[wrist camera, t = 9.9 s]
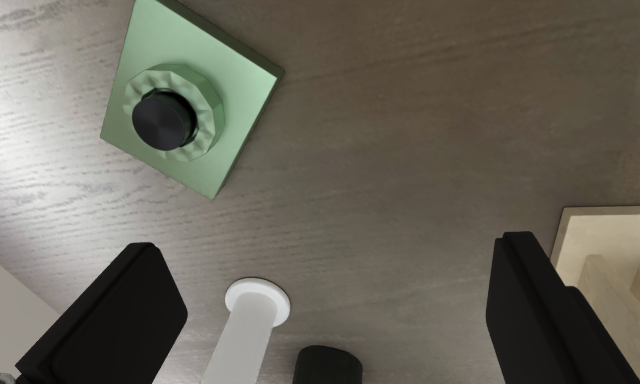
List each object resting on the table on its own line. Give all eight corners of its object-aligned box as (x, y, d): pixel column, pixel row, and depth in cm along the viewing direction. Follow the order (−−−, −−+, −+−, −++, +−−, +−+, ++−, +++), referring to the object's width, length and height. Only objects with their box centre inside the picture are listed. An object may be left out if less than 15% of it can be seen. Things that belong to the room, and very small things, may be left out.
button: (154, 80, 24) (139, 87, 22) (203, 110, 24) (192, 118, 23) (140, 123, 25) (125, 132, 24) (186, 150, 26) (174, 160, 24)
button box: (156, -13, 24) (119, -12, 21) (285, 70, 26) (271, 85, 22) (116, 127, 30) (82, 147, 27) (222, 187, 32) (203, 213, 28)
